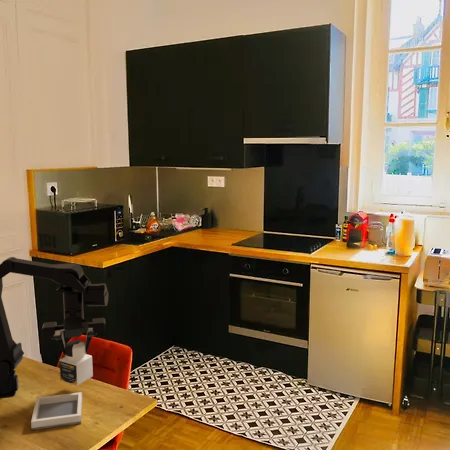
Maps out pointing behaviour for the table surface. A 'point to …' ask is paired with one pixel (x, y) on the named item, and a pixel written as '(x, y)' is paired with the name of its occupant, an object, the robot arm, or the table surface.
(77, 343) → the medicine bottle
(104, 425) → the table surface
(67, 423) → the walled box
